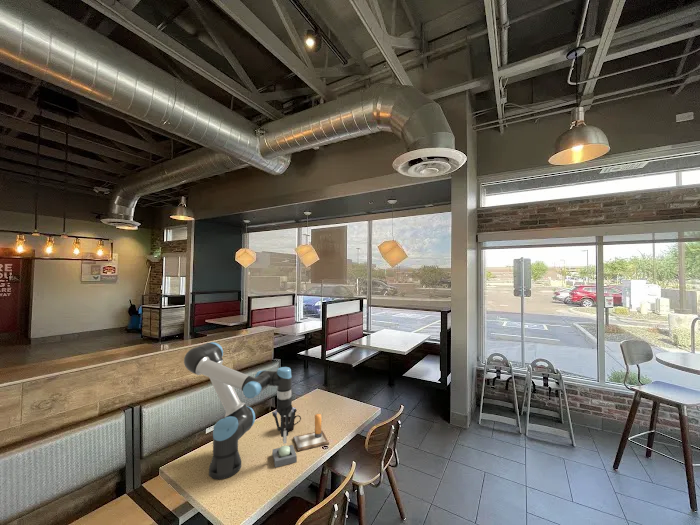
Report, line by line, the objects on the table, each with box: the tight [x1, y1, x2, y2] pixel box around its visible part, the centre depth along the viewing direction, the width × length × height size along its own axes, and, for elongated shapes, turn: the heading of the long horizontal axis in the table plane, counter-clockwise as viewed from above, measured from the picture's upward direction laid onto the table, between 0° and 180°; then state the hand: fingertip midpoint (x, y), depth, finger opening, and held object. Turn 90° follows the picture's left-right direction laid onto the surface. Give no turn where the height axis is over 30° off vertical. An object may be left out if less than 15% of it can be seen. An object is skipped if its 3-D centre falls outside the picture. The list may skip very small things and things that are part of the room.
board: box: [293, 430, 330, 452], centre depth 169 cm, size 18×14×2 cm
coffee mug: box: [284, 410, 302, 433], centre depth 182 cm, size 12×9×10 cm
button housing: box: [272, 444, 298, 468], centre depth 154 cm, size 11×11×3 cm
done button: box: [278, 445, 290, 458], centre depth 154 cm, size 6×6×3 cm
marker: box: [314, 413, 323, 438], centre depth 173 cm, size 4×4×12 cm
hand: (284, 442), depth 154 cm, fingers closed
